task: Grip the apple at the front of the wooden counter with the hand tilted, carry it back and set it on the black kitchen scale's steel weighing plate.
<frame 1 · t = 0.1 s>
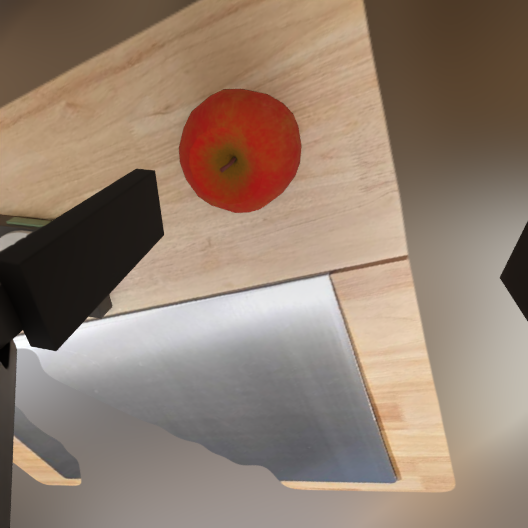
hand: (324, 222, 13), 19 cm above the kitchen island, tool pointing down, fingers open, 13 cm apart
kitchen scale: (57, 262, 43), on the kitchen island
apple: (259, 133, 31), on the kitchen island
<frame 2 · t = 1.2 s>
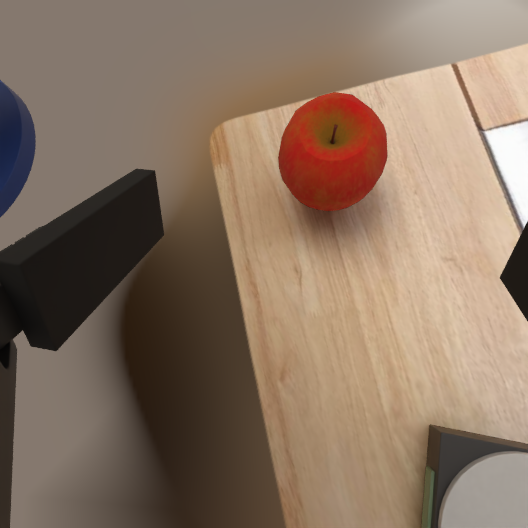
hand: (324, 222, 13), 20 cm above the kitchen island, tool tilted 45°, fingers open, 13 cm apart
kitchen scale: (505, 523, 27), on the kitchen island
apple: (326, 190, 34), on the kitchen island
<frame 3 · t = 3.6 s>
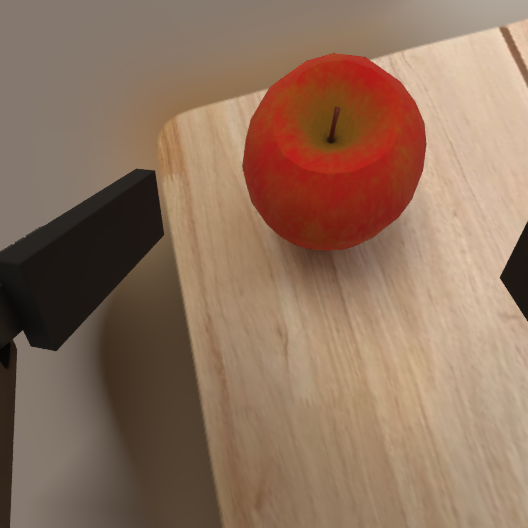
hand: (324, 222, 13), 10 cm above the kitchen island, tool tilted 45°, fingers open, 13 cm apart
apple: (323, 210, 23), on the kitchen island
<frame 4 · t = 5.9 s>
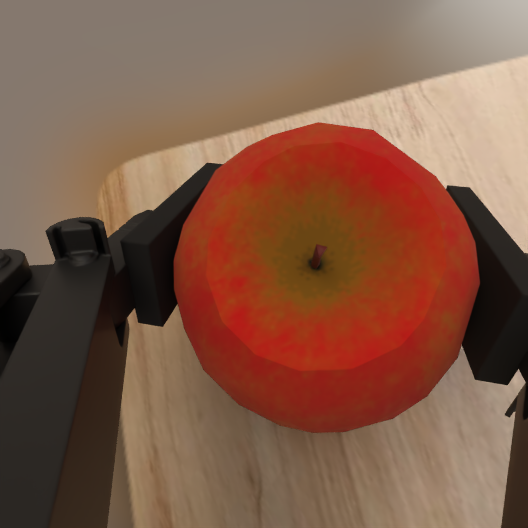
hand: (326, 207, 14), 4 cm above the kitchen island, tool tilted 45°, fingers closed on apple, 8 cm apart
apple: (312, 300, 17), on the kitchen island, touching gripper
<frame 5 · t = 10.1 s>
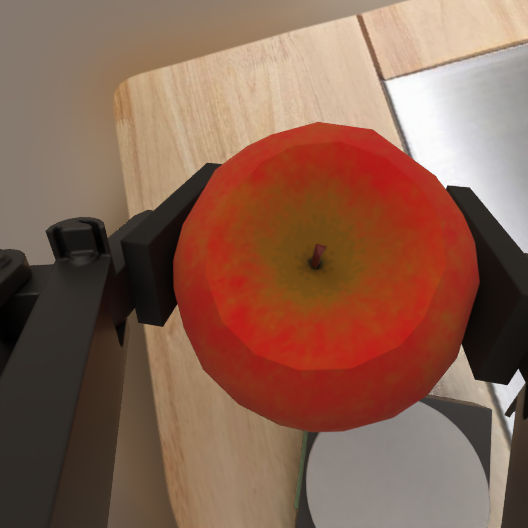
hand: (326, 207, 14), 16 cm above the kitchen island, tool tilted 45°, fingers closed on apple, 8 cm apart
kitchen scale: (384, 472, 26), on the kitchen island
apple: (312, 300, 17), point 12 cm above the kitchen island, touching gripper
when the fingers open (7 cm above the kitchen island, at t = 14.5 s): apple stays where it is, resting on kitchen scale.
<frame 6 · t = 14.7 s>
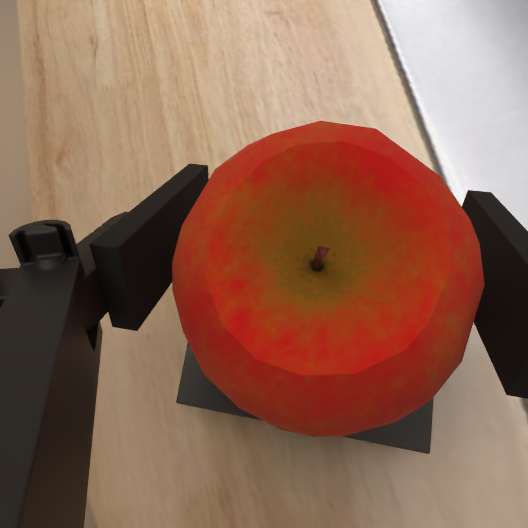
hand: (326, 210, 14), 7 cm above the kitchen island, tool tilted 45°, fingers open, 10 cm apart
kitchen scale: (312, 305, 20), on the kitchen island
apple: (312, 301, 17), point 3 cm above the kitchen island, touching kitchen scale
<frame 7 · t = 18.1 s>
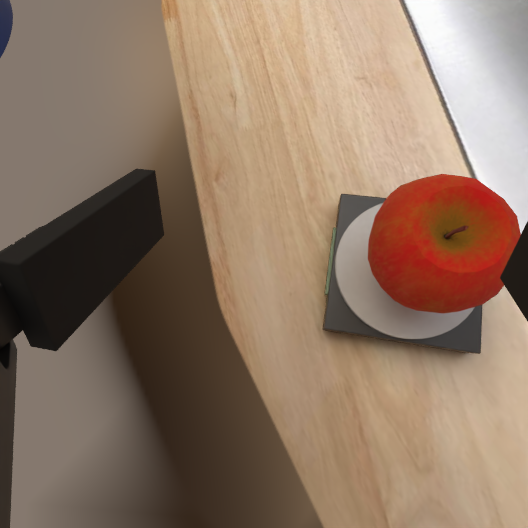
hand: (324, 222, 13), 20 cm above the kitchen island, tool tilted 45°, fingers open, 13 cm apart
kitchen scale: (398, 273, 31), on the kitchen island
apple: (407, 267, 28), point 3 cm above the kitchen island, touching kitchen scale
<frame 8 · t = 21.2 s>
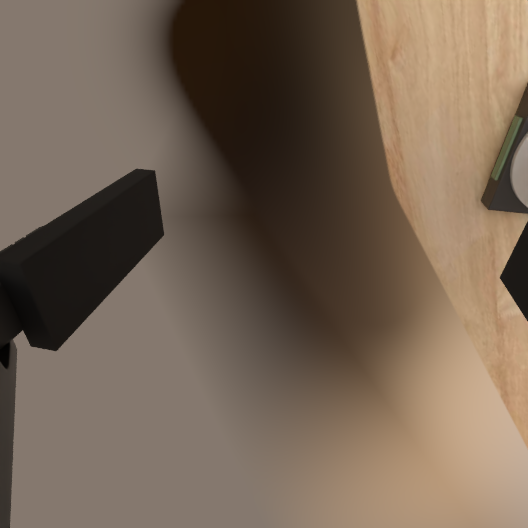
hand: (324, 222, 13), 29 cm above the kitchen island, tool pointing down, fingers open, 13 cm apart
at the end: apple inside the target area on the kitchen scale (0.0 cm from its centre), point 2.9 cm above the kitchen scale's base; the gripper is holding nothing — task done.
